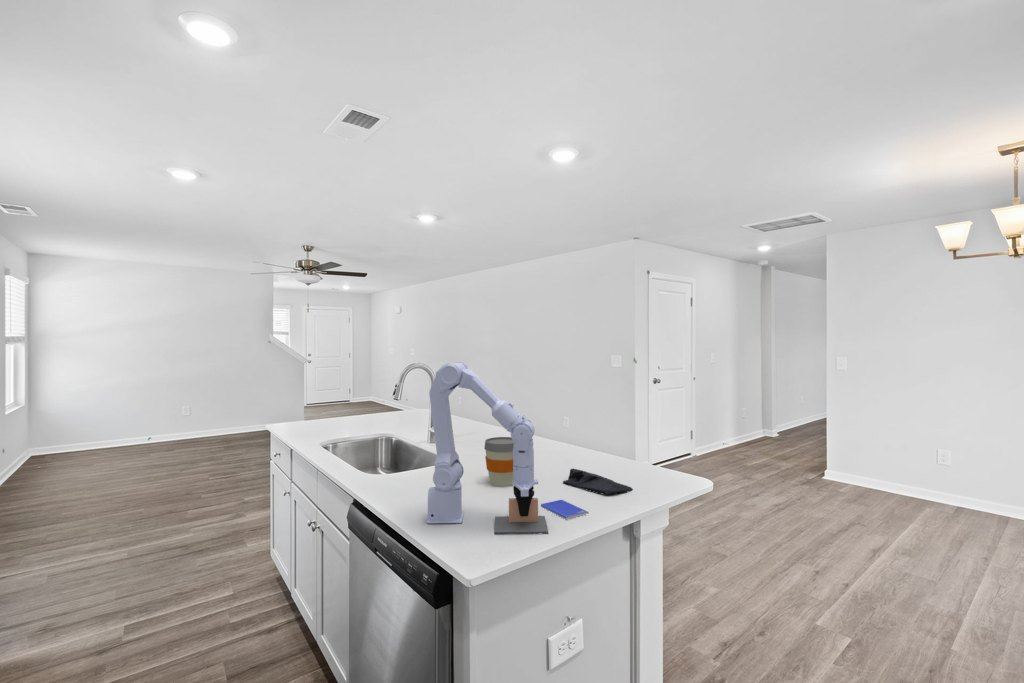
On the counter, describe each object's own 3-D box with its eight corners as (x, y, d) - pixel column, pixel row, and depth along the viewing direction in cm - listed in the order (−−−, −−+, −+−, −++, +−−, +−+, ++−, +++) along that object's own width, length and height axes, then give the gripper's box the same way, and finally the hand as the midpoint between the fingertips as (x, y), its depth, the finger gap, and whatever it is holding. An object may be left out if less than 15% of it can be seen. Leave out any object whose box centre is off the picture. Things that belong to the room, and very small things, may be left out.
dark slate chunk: (603, 500, 149) (603, 485, 149) (559, 483, 168) (559, 470, 168) (637, 491, 158) (636, 477, 158) (591, 476, 176) (591, 463, 176)
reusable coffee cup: (509, 490, 159) (508, 445, 159) (477, 485, 165) (477, 442, 165) (526, 480, 169) (526, 438, 169) (496, 476, 176) (496, 435, 176)
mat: (494, 534, 123) (494, 532, 123) (495, 518, 134) (494, 516, 134) (548, 533, 123) (548, 531, 123) (544, 517, 134) (544, 515, 134)
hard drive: (588, 511, 136) (562, 499, 147) (566, 516, 132) (540, 503, 142) (588, 516, 136) (562, 504, 147) (566, 522, 132) (540, 509, 142)
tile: (508, 522, 129) (508, 500, 129) (508, 519, 131) (508, 498, 131) (538, 521, 129) (538, 499, 129) (537, 519, 131) (537, 497, 131)
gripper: (539, 472, 123) (540, 524, 123) (536, 458, 137) (536, 505, 137) (512, 472, 123) (513, 524, 123) (511, 458, 137) (512, 505, 137)
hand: (523, 514), depth 130 cm, fingers closed on tile, 2 cm apart
